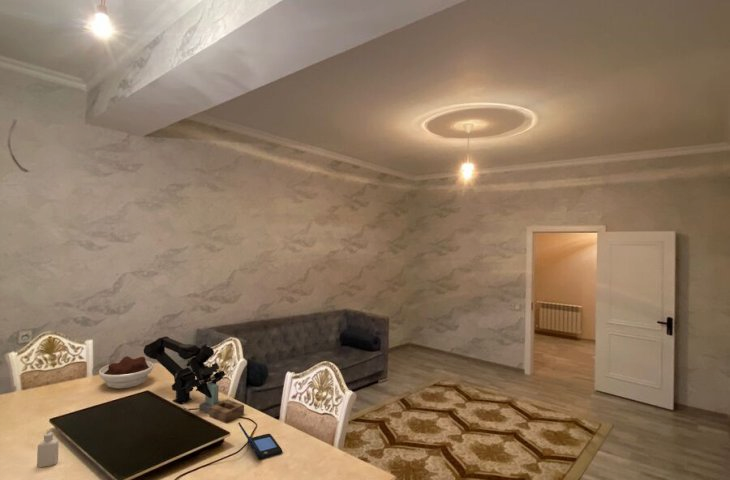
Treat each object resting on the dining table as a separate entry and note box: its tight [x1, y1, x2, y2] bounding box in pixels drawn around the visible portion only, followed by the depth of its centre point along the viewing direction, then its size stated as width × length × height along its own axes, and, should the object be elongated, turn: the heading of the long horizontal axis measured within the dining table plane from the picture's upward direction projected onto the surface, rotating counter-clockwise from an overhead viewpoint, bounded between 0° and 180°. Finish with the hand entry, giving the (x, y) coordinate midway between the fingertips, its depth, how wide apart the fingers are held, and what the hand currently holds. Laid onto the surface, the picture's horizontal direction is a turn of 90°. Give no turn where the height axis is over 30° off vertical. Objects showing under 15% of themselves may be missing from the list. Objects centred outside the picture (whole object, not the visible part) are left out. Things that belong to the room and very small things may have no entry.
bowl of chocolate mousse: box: [98, 355, 155, 389], centre depth 206 cm, size 25×25×15 cm
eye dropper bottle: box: [36, 428, 60, 467], centre depth 134 cm, size 4×6×12 cm
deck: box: [198, 400, 221, 415], centre depth 179 cm, size 8×7×3 cm
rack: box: [208, 399, 245, 424], centre depth 174 cm, size 11×10×4 cm
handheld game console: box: [237, 422, 283, 461], centre depth 148 cm, size 16×13×9 cm
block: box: [204, 382, 220, 406], centre depth 179 cm, size 6×2×9 cm, turn 60°
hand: (213, 396), depth 179 cm, fingers closed on block, 2 cm apart
